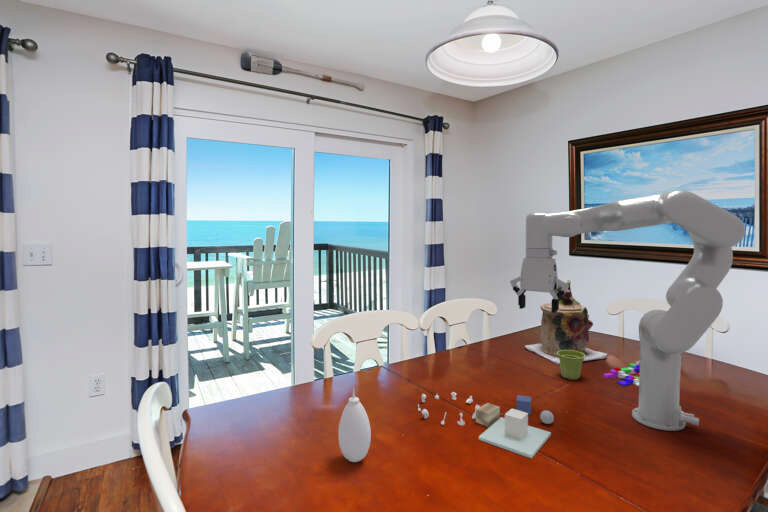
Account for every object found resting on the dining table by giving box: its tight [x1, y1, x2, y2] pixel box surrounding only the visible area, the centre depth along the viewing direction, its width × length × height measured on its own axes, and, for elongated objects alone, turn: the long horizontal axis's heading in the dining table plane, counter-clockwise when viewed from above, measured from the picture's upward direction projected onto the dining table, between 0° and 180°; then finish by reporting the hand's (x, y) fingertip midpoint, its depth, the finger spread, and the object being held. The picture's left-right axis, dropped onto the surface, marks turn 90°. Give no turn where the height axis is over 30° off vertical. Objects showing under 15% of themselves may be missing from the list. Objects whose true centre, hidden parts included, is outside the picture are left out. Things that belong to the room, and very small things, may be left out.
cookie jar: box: [524, 279, 608, 365], centre depth 175 cm, size 25×25×32 cm
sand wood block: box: [475, 402, 501, 428], centre depth 117 cm, size 4×6×4 cm, turn 133°
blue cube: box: [515, 394, 532, 416], centre depth 123 cm, size 4×4×4 cm
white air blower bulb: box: [337, 387, 372, 463], centre depth 98 cm, size 8×8×18 cm
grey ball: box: [539, 409, 555, 425], centre depth 115 cm, size 4×4×4 cm
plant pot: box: [557, 350, 585, 380], centre depth 149 cm, size 9×9×9 cm
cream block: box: [504, 408, 529, 440], centre depth 108 cm, size 4×4×6 cm
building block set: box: [602, 360, 640, 387], centre depth 147 cm, size 25×20×4 cm
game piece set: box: [417, 391, 481, 426], centre depth 124 cm, size 19×20×4 cm
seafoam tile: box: [478, 416, 552, 459], centre depth 108 cm, size 14×14×1 cm
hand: (538, 309), depth 124 cm, fingers open, 9 cm apart
